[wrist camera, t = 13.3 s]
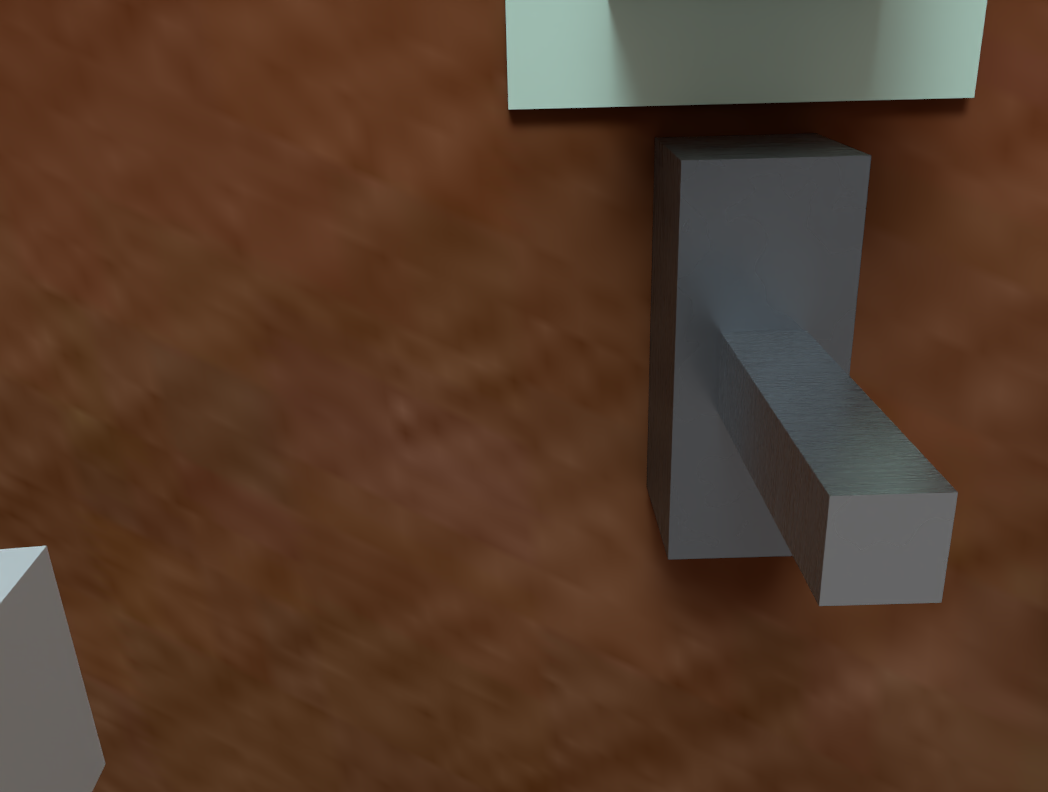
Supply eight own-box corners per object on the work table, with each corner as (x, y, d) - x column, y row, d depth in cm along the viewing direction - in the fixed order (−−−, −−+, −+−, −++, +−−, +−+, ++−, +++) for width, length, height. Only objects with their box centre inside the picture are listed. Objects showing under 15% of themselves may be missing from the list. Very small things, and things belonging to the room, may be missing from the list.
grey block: (646, 486, 35) (739, 800, 21) (655, 137, 31) (777, 244, 17) (788, 482, 35) (973, 793, 21) (816, 133, 31) (1071, 236, 17)
